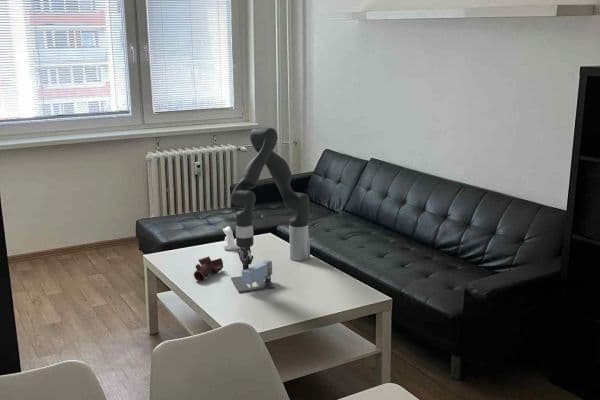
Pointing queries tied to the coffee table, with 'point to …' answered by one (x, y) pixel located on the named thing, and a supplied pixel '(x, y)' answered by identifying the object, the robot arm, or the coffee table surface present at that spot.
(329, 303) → the coffee table surface
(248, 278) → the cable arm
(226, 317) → the coffee table surface
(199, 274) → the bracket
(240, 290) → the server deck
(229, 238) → the sitting furry creature
